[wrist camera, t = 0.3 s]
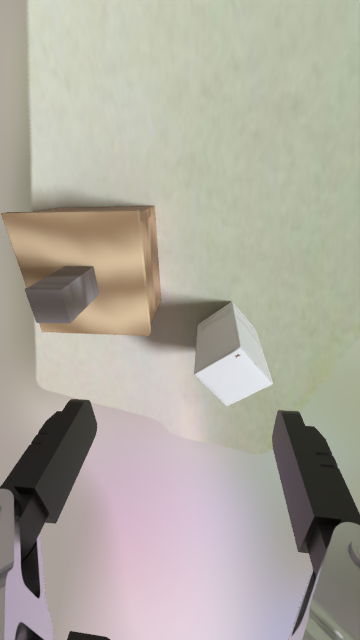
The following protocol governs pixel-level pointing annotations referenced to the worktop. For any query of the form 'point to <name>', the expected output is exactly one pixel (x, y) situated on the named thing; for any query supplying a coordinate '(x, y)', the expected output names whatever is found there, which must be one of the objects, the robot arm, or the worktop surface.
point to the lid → (83, 270)
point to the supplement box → (230, 356)
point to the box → (148, 248)
